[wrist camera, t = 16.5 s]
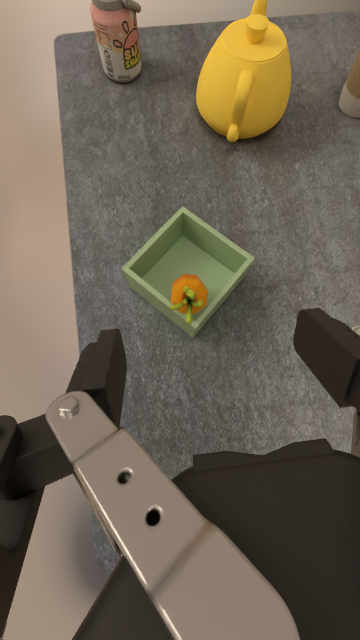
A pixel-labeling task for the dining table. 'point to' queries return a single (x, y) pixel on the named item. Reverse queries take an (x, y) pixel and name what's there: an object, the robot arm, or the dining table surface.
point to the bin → (187, 266)
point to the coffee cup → (351, 91)
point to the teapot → (245, 77)
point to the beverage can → (117, 38)
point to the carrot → (188, 295)
